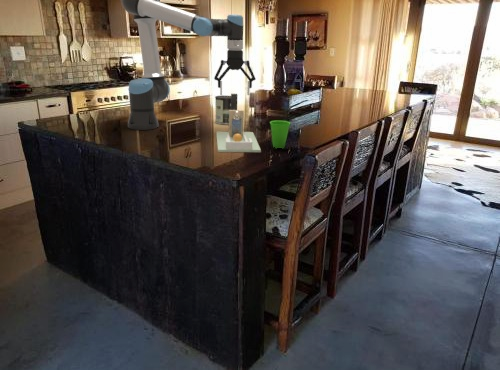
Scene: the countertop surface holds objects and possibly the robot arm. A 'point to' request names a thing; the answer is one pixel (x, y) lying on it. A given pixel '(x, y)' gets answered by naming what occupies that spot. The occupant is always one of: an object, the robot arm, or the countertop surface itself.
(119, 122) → the countertop surface
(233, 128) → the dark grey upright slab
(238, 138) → the ball
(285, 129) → the cup
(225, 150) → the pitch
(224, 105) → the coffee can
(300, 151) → the countertop surface
